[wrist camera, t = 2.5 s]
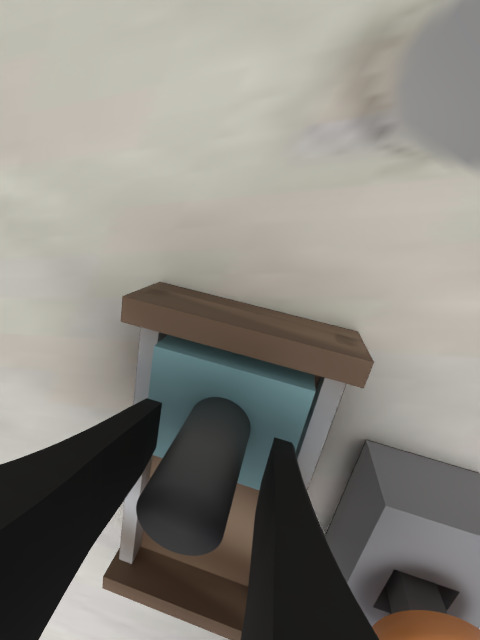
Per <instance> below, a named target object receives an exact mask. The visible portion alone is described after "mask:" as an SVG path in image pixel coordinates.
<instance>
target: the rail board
mask: <svg viewBox="0 0 480 640" xmlns="http://www.w3.org/2000/svg"><path fill="white" fill-rule="evenodd" d="M121 322H124V323H128V324H131V325H135V326H139V327H141V329H140V340H139V350H138V361H137V372H136V383H135V393H134V404H133V405H135V404H136V403H138V402H140V401H142V400H144V399H146V398H148V394H149V385H150V376H151V368H152V359H153V350H154V345H156V344H157V343H158V342H159V341H161V340H162V339H163V338H164V337H166V336H167V335H171V336H175V337H179V338H182V339H186V340H190V341H193V342H197V343H201V344H204V345H208V346H211V347H215V348H219V349H222V350H226V351H230V352H233V353H237V354H241V355H244V356H248V357H252V358H255V359H259V360H262V361H266V362H270V363H273V364H277V365H281V366H284V367H288V368H292V369H295V370H299V371H303V372H306V373H310V374H313V375H314V377H315V390H316V392H315V395H314V398H313V401H312V404H311V407H310V410H309V413H308V416H307V419H306V422H305V425H304V428H303V431H302V434H301V437H300V440H299V443H298V446H297V449H296V452H295V453H296V457H297V461H298V465H299V468H300V471H301V475H302V478H303V481H304V484H305V487H306V490H308V487H309V484H310V481H311V479H312V476H313V473H314V471H315V468H316V465H317V462H318V460H319V457H320V454H321V452H322V449H323V446H324V443H325V441H326V438H327V435H328V433H329V430H330V427H331V424H332V422H333V419H334V416H335V414H336V411H337V408H338V405H339V403H340V400H341V397H342V395H343V392H344V389H345V386H346V384H350V385H354V386H357V387H361V388H364V386H365V384H366V381H367V379H368V376H369V373H370V371H371V368H372V366H373V363H374V362H373V360H372V358H371V356H370V354H369V352H368V350H367V348H366V346H365V344H364V342H363V340H362V338H361V337H360V335H359V333H358V332H357V331H353V330H349V329H345V328H341V327H337V326H333V325H329V324H325V323H321V322H317V321H313V320H309V319H305V318H301V317H297V316H293V315H289V314H285V313H281V312H277V311H273V310H269V309H265V308H261V307H257V306H253V305H249V304H245V303H241V302H237V301H233V300H229V299H225V298H221V297H217V296H213V295H209V294H205V293H201V292H197V291H193V290H189V289H186V288H182V287H178V286H174V285H170V284H166V283H162V282H158V283H156V284H153V285H151V286H148V287H145V288H143V289H140V290H138V291H135V292H133V293H130V294H127V295H125V296H123V297H122V312H121ZM161 460H162V458H160V457H157V456H154V455H152V457H151V459H150V461H149V462H148V464H147V466H146V468H145V470H144V471H143V473H142V475H141V476H140V478H139V479H138V481H137V482H136V484H135V485H134V487H133V488H132V489H131V491H130V492H129V494H128V495H127V497H126V498H125V500H124V511H123V522H122V533H121V543H120V548H119V550H118V552H117V553H116V555H115V557H114V559H113V560H112V562H111V564H110V566H109V567H108V569H107V571H106V573H105V574H104V576H103V588H104V589H106V590H109V591H111V592H113V593H116V594H118V595H121V596H123V597H126V598H128V599H131V600H133V601H136V602H138V603H141V604H143V605H146V606H148V607H151V608H153V609H156V610H158V611H161V612H163V613H166V614H168V615H171V616H173V617H176V618H178V619H181V620H183V621H186V622H188V623H191V624H193V625H196V626H198V627H201V628H203V629H206V630H208V631H210V632H213V633H215V634H218V635H220V636H223V637H225V638H228V639H230V640H241V634H242V628H243V622H244V616H245V610H246V602H247V594H248V584H249V573H250V562H251V552H252V541H253V530H254V520H255V511H256V506H257V501H258V495H259V490H257V489H254V488H251V487H248V486H245V485H242V484H239V483H237V486H236V490H235V493H234V497H233V501H232V505H231V509H230V513H229V517H228V521H227V525H226V528H225V532H224V536H223V539H222V542H221V543H220V545H219V546H218V547H217V548H216V549H215V550H213V551H212V552H210V553H207V554H204V555H199V556H188V555H182V554H178V553H175V552H172V551H170V550H167V549H165V548H164V547H162V546H160V545H159V544H157V543H156V542H155V541H153V540H152V539H151V538H150V537H149V536H148V535H147V534H146V532H145V531H144V530H143V528H142V527H141V525H140V523H139V520H138V518H137V513H136V504H137V501H138V498H139V496H140V495H141V493H142V491H143V490H144V488H145V486H146V485H147V483H148V482H149V480H150V478H151V477H152V475H153V473H154V472H155V470H156V468H157V467H158V465H159V463H160V462H161Z"/></svg>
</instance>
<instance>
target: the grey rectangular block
mask: <svg viewBox="0 0 480 640" xmlns="http://www.w3.org/2000/svg"><path fill="white" fill-rule="evenodd" d="M325 538H326V541H327V543H328V545H329V547H330V549H331V552H332V554H333V556H334V558H335V560H336V562H337V564H338V566H339V568H340V570H341V572H342V574H343V576H344V578H345V580H346V582H347V583H348V585H349V587H350V589H351V591H352V593H353V595H354V597H355V598H356V600H357V602H358V604H359V605H360V607H361V609H362V611H363V612H364V614H365V616H366V617H367V619H368V621H369V623H370V624H371V626H373V625H374V624H375V623H376V622H377V621H378V620H380V619H381V618H383V617H385V616H387V615H390V614H392V612H391V608H390V604H389V599H388V595H387V591H386V586H385V585H386V583H387V581H388V579H389V578H390V576H391V574H392V572H393V570H394V569H395V570H398V571H401V572H404V573H407V574H409V575H412V576H415V577H418V578H421V579H424V580H427V581H430V582H433V583H435V584H437V587H438V590H439V593H440V595H441V598H442V601H443V603H444V606H445V609H446V611H447V614H448V615H452V616H455V617H457V618H460V619H462V620H464V621H466V622H468V623H470V624H472V625H474V626H475V627H477V628H478V629H479V628H480V474H479V473H476V472H472V471H469V470H466V469H462V468H459V467H456V466H452V465H449V464H445V463H442V462H439V461H435V460H432V459H429V458H425V457H422V456H418V455H415V454H412V453H408V452H405V451H401V450H398V449H395V448H391V447H388V446H385V445H381V444H378V443H374V442H371V441H368V440H366V442H365V444H364V447H363V449H362V451H361V454H360V456H359V458H358V461H357V463H356V465H355V468H354V470H353V473H352V475H351V477H350V480H349V482H348V484H347V487H346V489H345V491H344V494H343V496H342V498H341V501H340V503H339V505H338V508H337V510H336V512H335V515H334V517H333V519H332V522H331V524H330V527H329V529H328V531H327V534H326V536H325Z"/></svg>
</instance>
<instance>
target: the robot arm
mask: <svg viewBox="0 0 480 640" xmlns="http://www.w3.org/2000/svg"><path fill="white" fill-rule="evenodd" d="M161 408H162V403H161V402H158V401H155V400H151V399H148V398H146V399H144V400H142V401H140V402H138V403H136V404H135V405H133V406H131V407H129V408H127V409H125V410H124V411H122V412H120V413H118V414H116V415H114V416H113V417H111V418H109V419H107V420H105V421H103V422H101V423H99V424H97V425H95V426H93V427H91V428H89V429H87V430H85V431H83V432H81V433H79V434H77V435H75V436H72V437H70V438H68V439H66V440H64V441H62V442H59V443H57V444H55V445H52V446H50V447H48V448H45V449H43V450H40V451H37V452H35V453H32V454H30V455H27V456H24V457H22V458H19V459H16V460H13V461H10V462H7V463H4V464H1V465H0V640H39V638H40V636H41V634H42V632H43V630H44V629H45V627H46V625H47V623H48V622H49V620H50V618H51V616H52V614H53V613H54V611H55V609H56V607H57V606H58V604H59V602H60V600H61V599H62V597H63V595H64V593H65V592H66V590H67V588H68V586H69V585H70V583H71V581H72V579H73V578H74V576H75V574H76V573H77V571H78V569H79V567H80V566H81V564H82V562H83V561H84V559H85V557H86V555H87V554H88V552H89V551H90V549H91V547H92V546H93V544H94V543H95V541H96V540H97V538H98V537H99V535H100V534H101V532H102V531H103V529H104V528H105V527H106V525H107V524H108V522H109V521H110V520H111V518H112V517H113V515H114V514H115V512H116V511H117V510H118V508H119V507H120V505H121V504H122V502H123V501H124V500H125V498H126V497H127V495H128V494H129V492H130V491H131V489H132V488H133V487H134V485H135V484H136V482H137V481H138V479H139V478H140V476H141V475H142V473H143V471H144V470H145V468H146V466H147V464H148V462H149V461H150V459H151V457H152V455H153V453H154V451H155V449H156V446H157V439H158V431H159V424H160V416H161ZM241 640H379V638H378V636H377V634H376V633H375V631H374V629H373V628H372V626H371V624H370V623H369V621H368V619H367V617H366V616H365V614H364V612H363V611H362V609H361V607H360V605H359V604H358V602H357V600H356V598H355V597H354V595H353V593H352V591H351V589H350V587H349V585H348V583H347V582H346V580H345V578H344V576H343V574H342V572H341V570H340V568H339V566H338V564H337V562H336V560H335V558H334V556H333V554H332V552H331V549H330V547H329V545H328V543H327V541H326V538H325V536H324V534H323V532H322V529H321V527H320V524H319V522H318V519H317V517H316V515H315V512H314V509H313V507H312V504H311V501H310V499H309V496H308V493H307V490H306V487H305V484H304V481H303V478H302V475H301V471H300V468H299V465H298V461H297V457H296V453H295V448H294V445H293V443H292V442H289V441H285V440H282V439H279V438H275V437H274V440H273V443H272V447H271V450H270V454H269V457H268V460H267V464H266V467H265V471H264V474H263V477H262V481H261V485H260V490H259V495H258V501H257V506H256V511H255V520H254V530H253V541H252V552H251V562H250V573H249V584H248V594H247V602H246V610H245V616H244V622H243V628H242V634H241Z"/></svg>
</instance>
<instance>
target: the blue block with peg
mask: <svg viewBox="0 0 480 640" xmlns="http://www.w3.org/2000/svg"><path fill="white" fill-rule="evenodd" d="M315 392H316V390H315V377H314V375H313V374H310V373H306V372H303V371H299V370H295V369H292V368H288V367H284V366H281V365H277V364H273V363H270V362H266V361H262V360H259V359H255V358H252V357H248V356H244V355H241V354H237V353H233V352H230V351H226V350H222V349H219V348H215V347H211V346H208V345H204V344H201V343H197V342H193V341H190V340H186V339H182V338H179V337H175V336H171V335H167V336H166V337H164V338H163V339H162V340H161V341H159V342H158V343H157V344H156V345H154V350H153V359H152V368H151V376H150V385H149V394H148V399H151V400H155V401H158V402H161V403H162V408H161V416H160V424H159V431H158V439H157V446H156V449H155V451H154V453H153V455H154V456H157V457H160V458H162V460H161V462H160V463H159V465H158V467H157V468H156V470H155V472H154V473H153V475H152V477H151V478H150V480H149V482H148V483H147V485H146V486H145V488H144V490H143V491H142V493H141V495H140V496H139V498H138V501H137V504H136V513H137V518H138V520H139V523H140V525H141V527H142V528H143V530H144V531H145V532H146V534H147V535H148V536H149V537H150V538H151V539H152V540H153V541H155V542H156V543H157V544H159V545H160V546H162V547H164V548H165V549H167V550H170V551H172V552H175V553H178V554H182V555H188V556H199V555H204V554H207V553H210V552H212V551H213V550H215V549H216V548H217V547H218V546H219V545H220V543H221V542H222V539H223V536H224V532H225V528H226V525H227V521H228V517H229V513H230V509H231V505H232V501H233V497H234V493H235V490H236V486H237V483H239V484H242V485H245V486H248V487H251V488H254V489H257V490H260V485H261V481H262V477H263V474H264V471H265V467H266V464H267V460H268V457H269V454H270V450H271V447H272V443H273V440H274V437H275V438H279V439H282V440H285V441H289V442H292V443H293V445H294V448H295V452H296V449H297V446H298V443H299V440H300V437H301V434H302V431H303V428H304V425H305V422H306V419H307V416H308V413H309V410H310V407H311V404H312V401H313V398H314V395H315Z"/></svg>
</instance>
